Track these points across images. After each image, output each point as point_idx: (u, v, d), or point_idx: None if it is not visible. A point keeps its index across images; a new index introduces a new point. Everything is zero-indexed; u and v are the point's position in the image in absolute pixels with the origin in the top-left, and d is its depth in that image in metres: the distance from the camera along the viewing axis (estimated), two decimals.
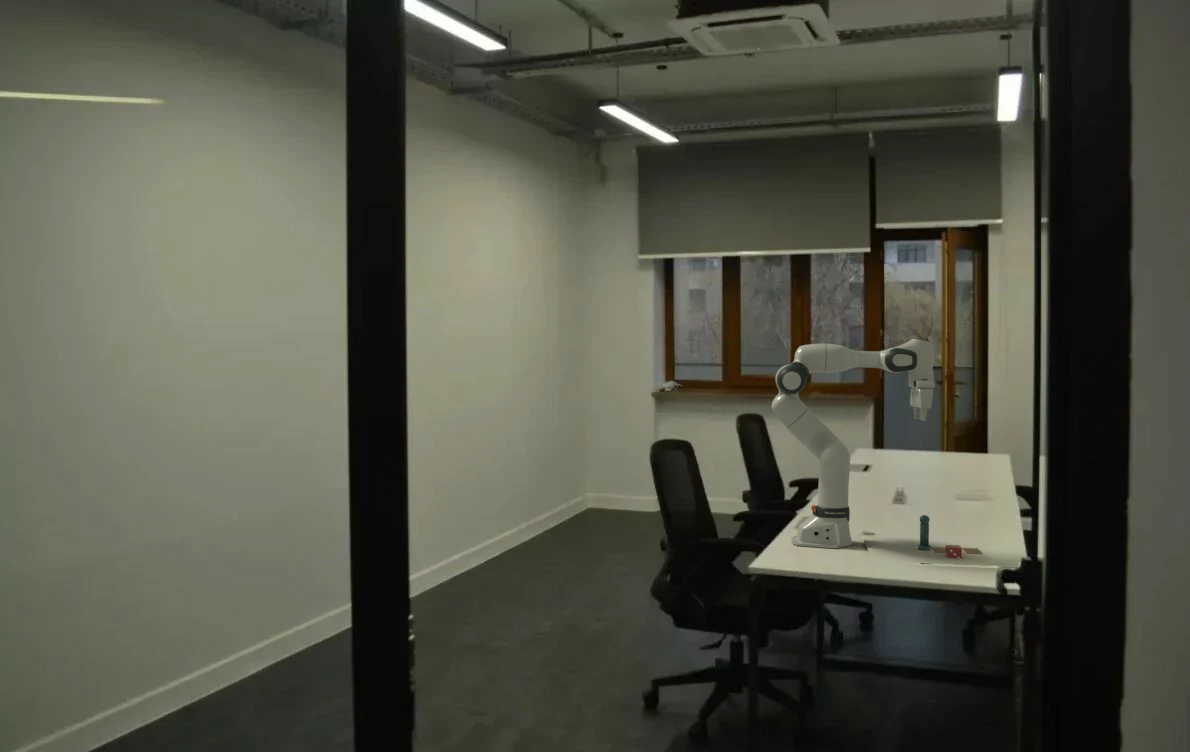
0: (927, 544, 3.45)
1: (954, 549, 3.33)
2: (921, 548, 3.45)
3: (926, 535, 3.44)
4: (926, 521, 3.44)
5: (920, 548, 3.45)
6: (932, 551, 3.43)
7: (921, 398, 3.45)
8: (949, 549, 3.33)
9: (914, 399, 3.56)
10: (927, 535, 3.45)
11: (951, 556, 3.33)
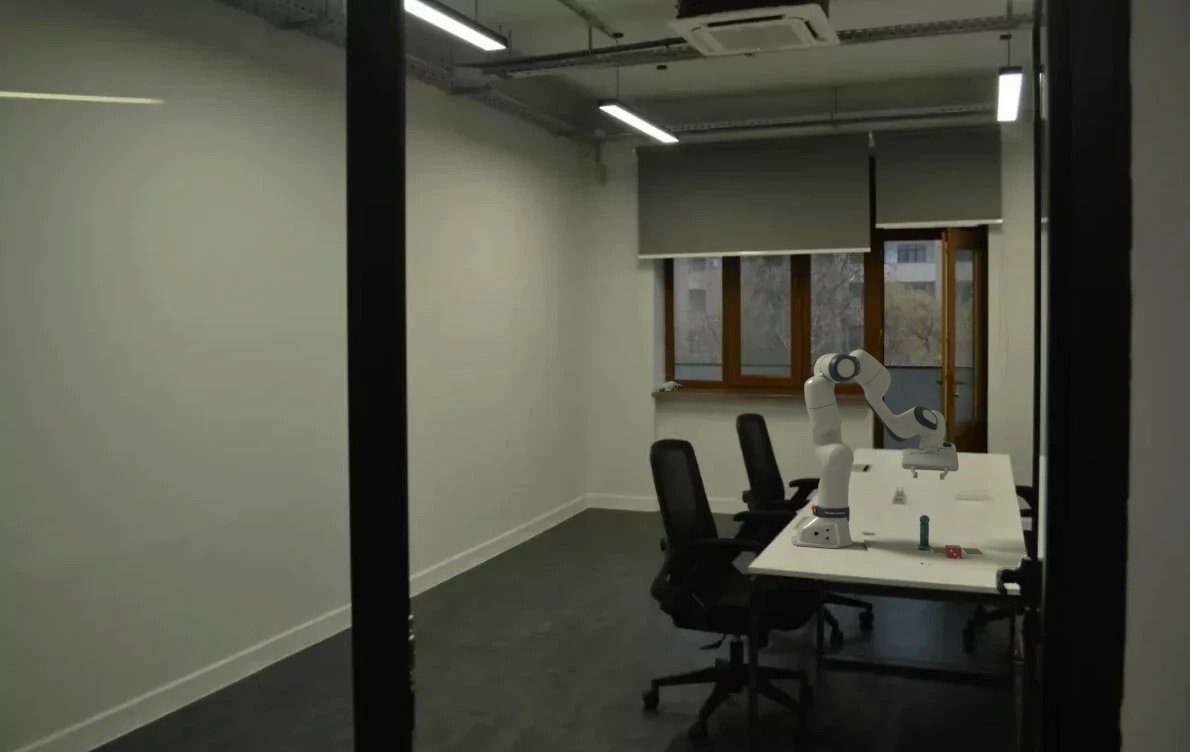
0: (927, 544, 3.45)
1: (954, 549, 3.33)
2: (921, 548, 3.45)
3: (926, 535, 3.44)
4: (926, 521, 3.44)
5: (920, 548, 3.45)
6: (932, 551, 3.43)
7: (957, 458, 3.56)
8: (949, 549, 3.33)
9: (924, 458, 3.60)
10: (927, 535, 3.45)
11: (951, 556, 3.33)
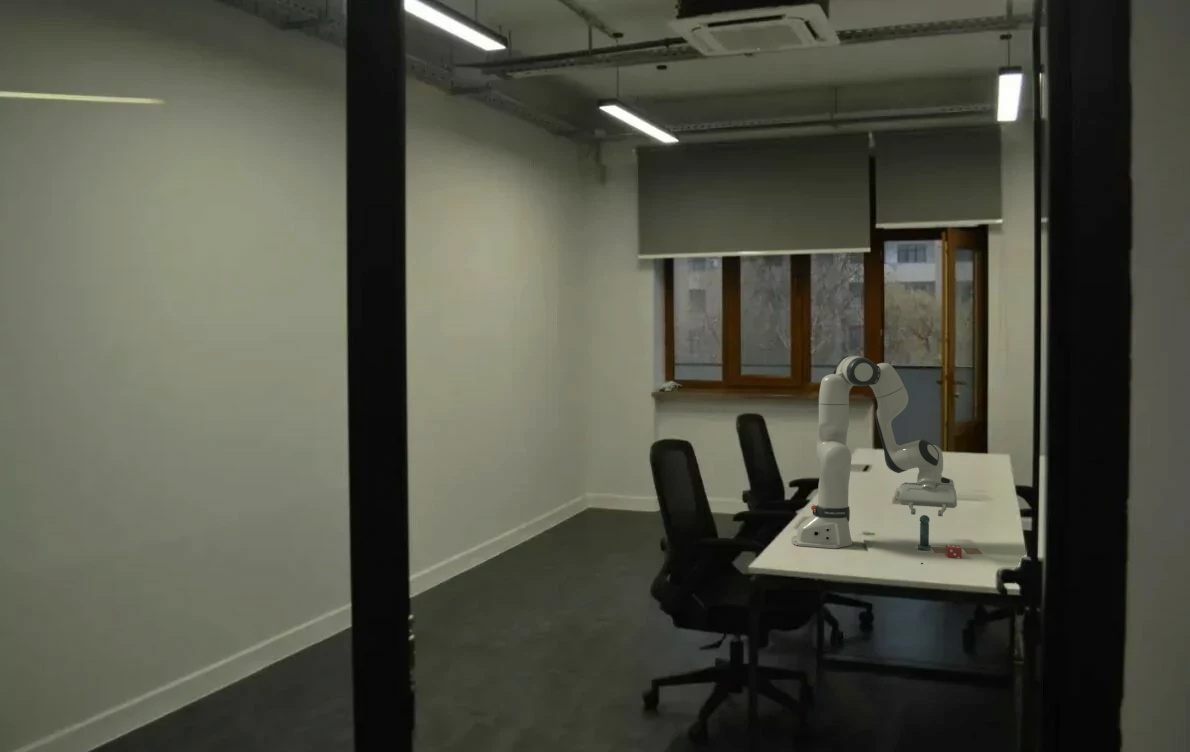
0: (927, 544, 3.45)
1: (954, 549, 3.33)
2: (921, 548, 3.45)
3: (926, 535, 3.44)
4: (926, 521, 3.44)
5: (920, 548, 3.45)
6: (932, 551, 3.43)
7: None
8: (949, 549, 3.33)
9: (922, 494, 3.55)
10: (927, 535, 3.45)
11: (951, 556, 3.33)
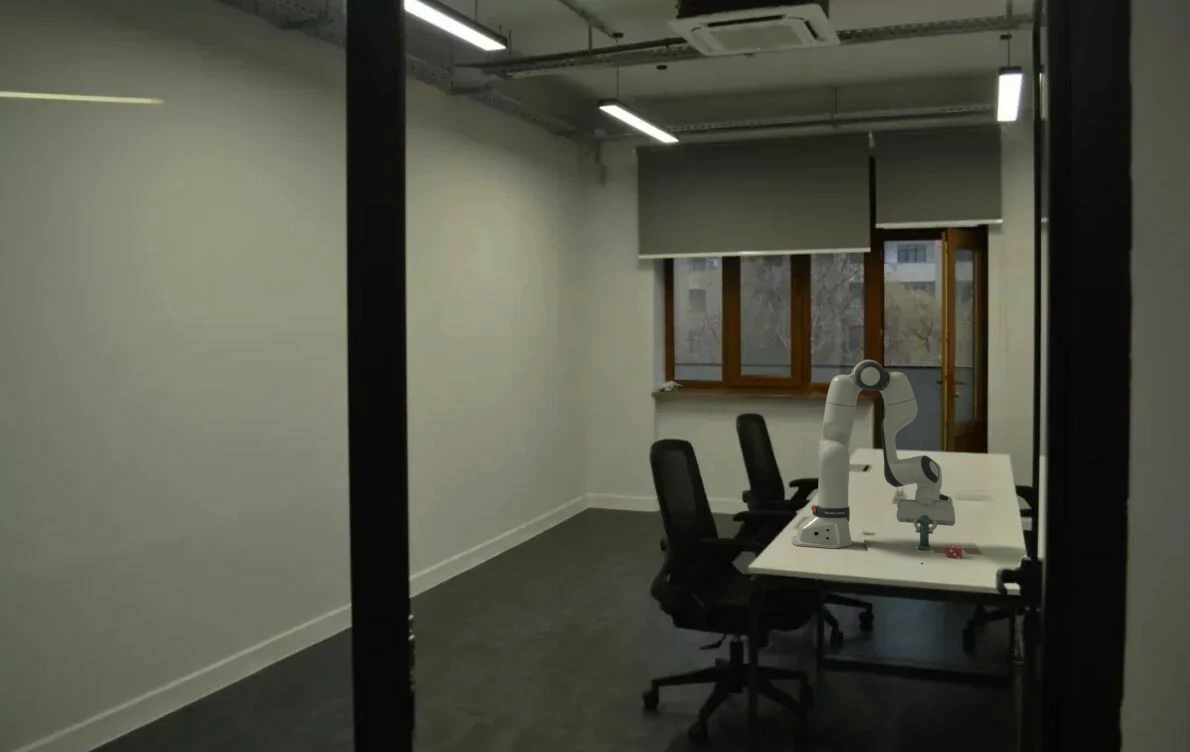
0: (927, 544, 3.45)
1: (954, 549, 3.33)
2: (921, 548, 3.45)
3: (926, 535, 3.44)
4: (926, 521, 3.44)
5: (920, 548, 3.45)
6: (932, 551, 3.43)
7: (954, 512, 3.45)
8: (949, 549, 3.33)
9: (920, 512, 3.49)
10: (927, 535, 3.45)
11: (951, 556, 3.33)
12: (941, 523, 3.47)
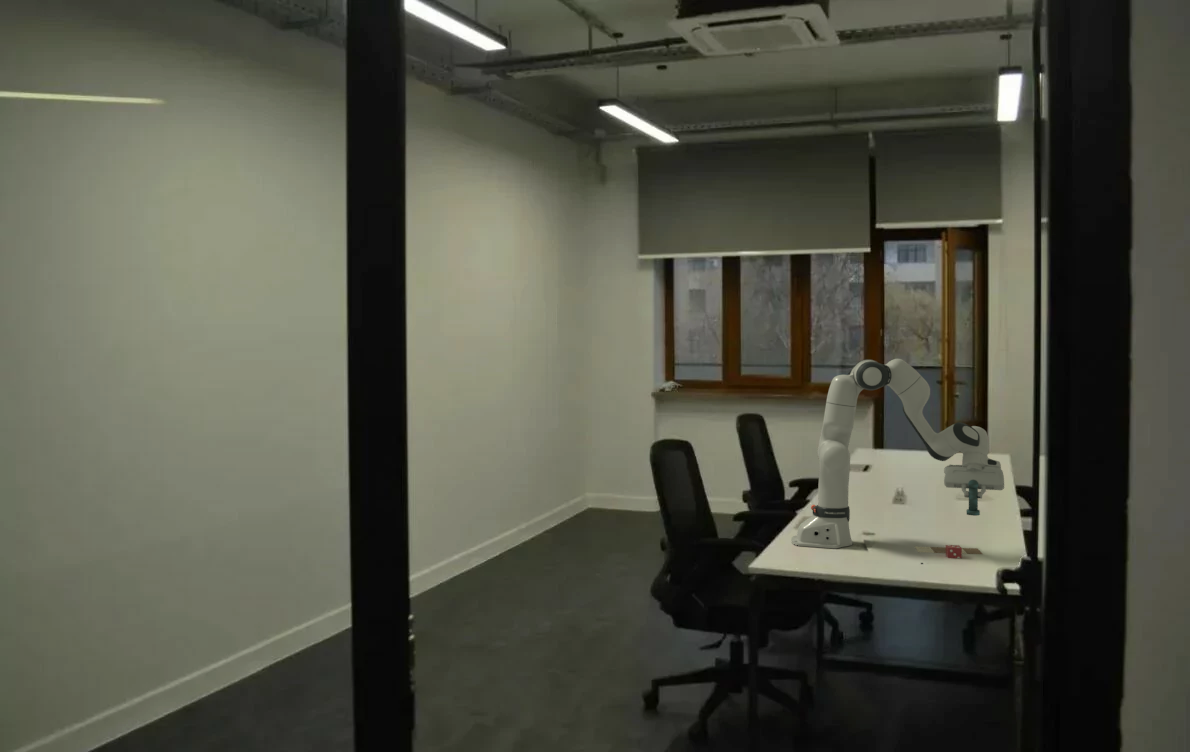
0: (976, 509, 3.41)
1: (954, 549, 3.33)
2: (970, 513, 3.41)
3: (975, 499, 3.41)
4: (975, 486, 3.41)
5: (969, 513, 3.41)
6: (932, 551, 3.43)
7: (1003, 476, 3.42)
8: (949, 549, 3.33)
9: (968, 476, 3.46)
10: (976, 500, 3.41)
11: (951, 556, 3.33)
12: (990, 488, 3.43)
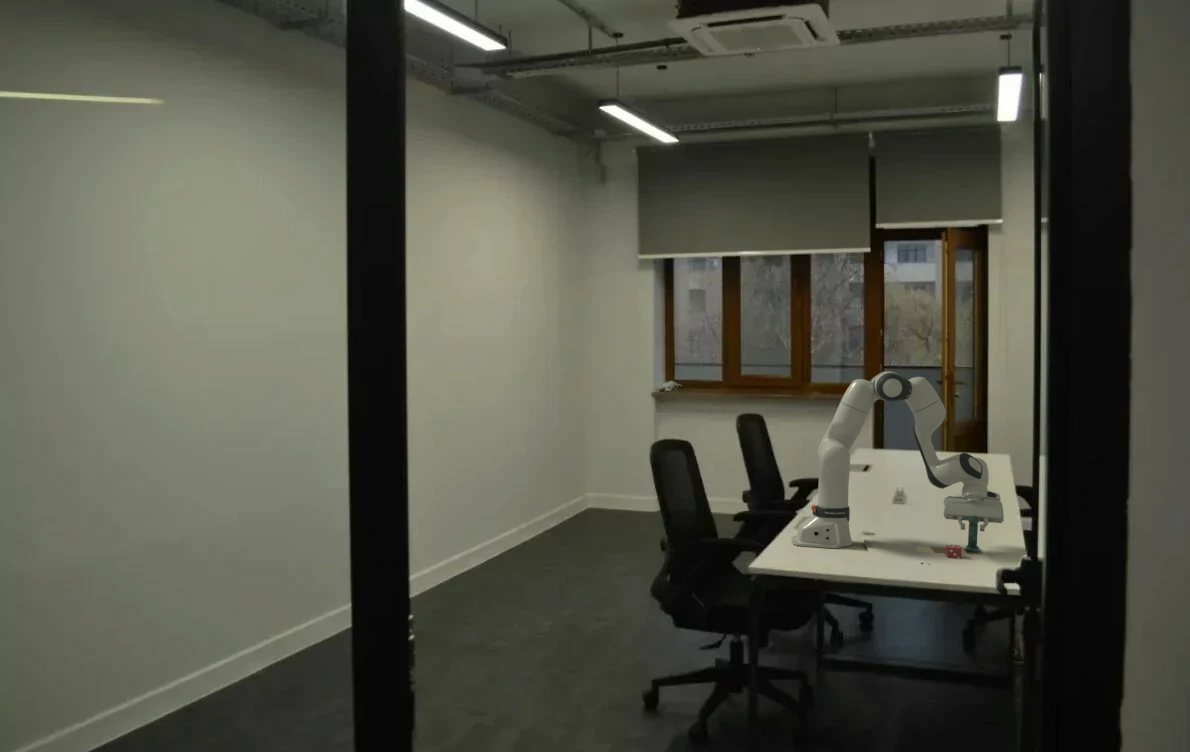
0: (975, 545, 3.42)
1: (954, 549, 3.33)
2: (969, 549, 3.42)
3: (975, 536, 3.42)
4: (975, 522, 3.41)
5: (968, 549, 3.42)
6: (932, 551, 3.43)
7: (1002, 509, 3.42)
8: (949, 549, 3.33)
9: (967, 509, 3.47)
10: (976, 536, 3.42)
11: (951, 556, 3.33)
12: (989, 520, 3.44)
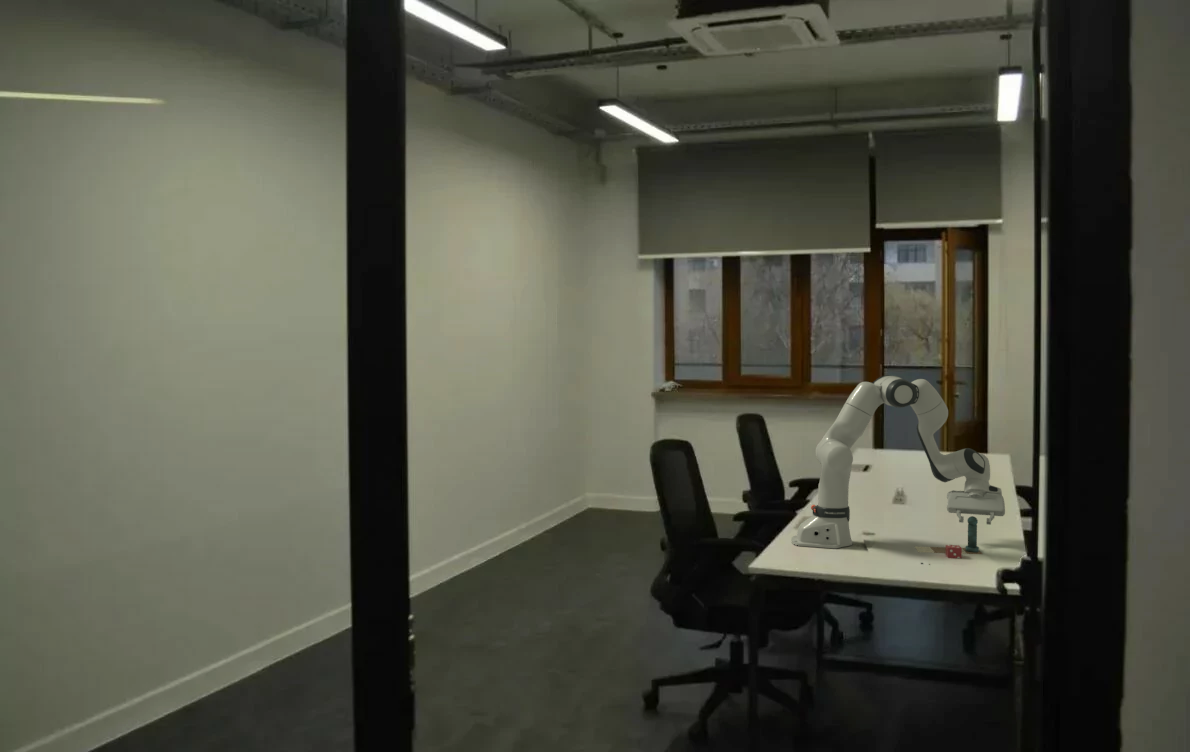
0: (975, 545, 3.42)
1: (954, 549, 3.33)
2: (969, 550, 3.42)
3: (974, 536, 3.42)
4: (974, 522, 3.41)
5: (968, 550, 3.42)
6: (932, 551, 3.43)
7: (1004, 503, 3.54)
8: (949, 549, 3.33)
9: (970, 502, 3.58)
10: (975, 536, 3.42)
11: (951, 556, 3.33)
12: None
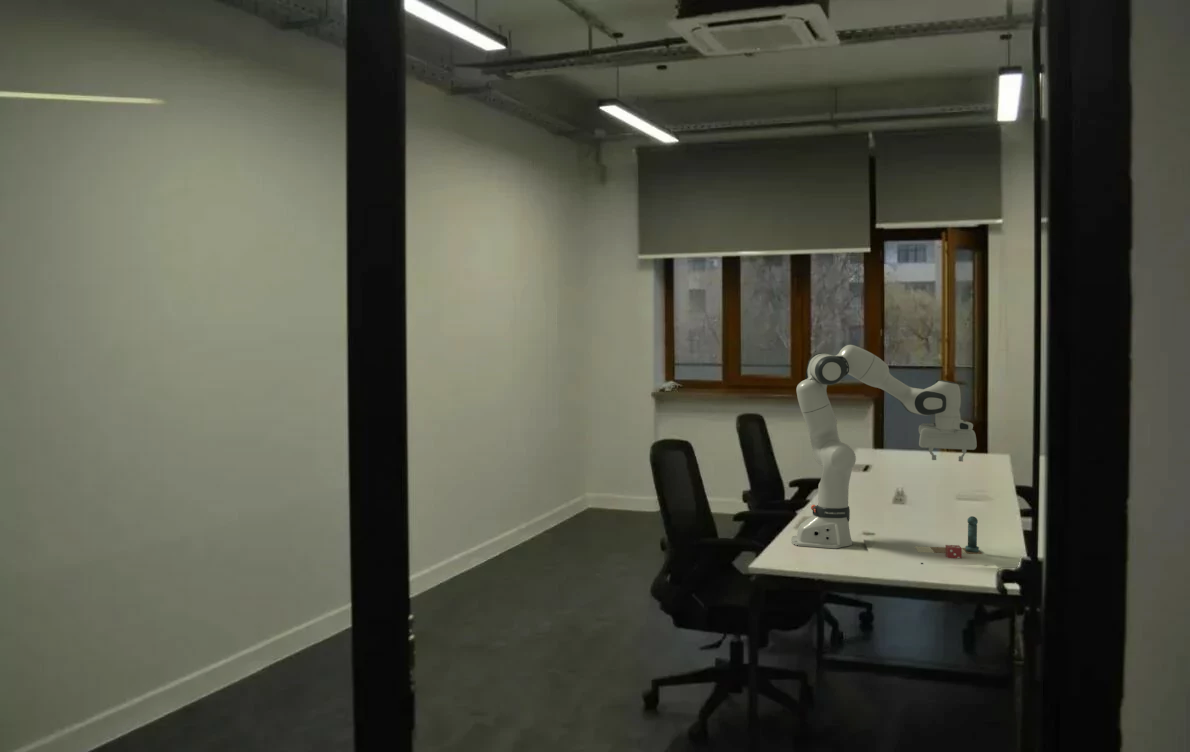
0: (975, 545, 3.42)
1: (954, 549, 3.33)
2: (969, 550, 3.42)
3: (974, 536, 3.42)
4: (974, 522, 3.41)
5: (968, 550, 3.42)
6: (932, 551, 3.43)
7: (975, 440, 3.54)
8: (949, 549, 3.33)
9: (942, 441, 3.58)
10: (975, 536, 3.42)
11: (951, 556, 3.33)
12: None
